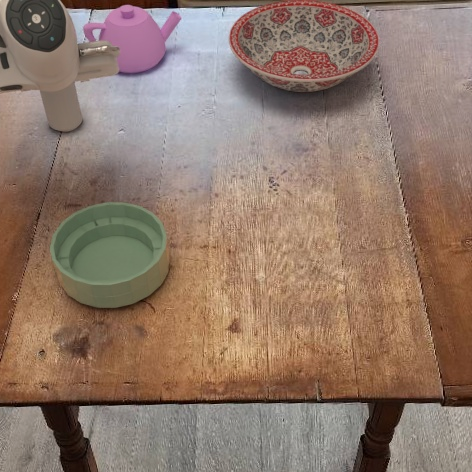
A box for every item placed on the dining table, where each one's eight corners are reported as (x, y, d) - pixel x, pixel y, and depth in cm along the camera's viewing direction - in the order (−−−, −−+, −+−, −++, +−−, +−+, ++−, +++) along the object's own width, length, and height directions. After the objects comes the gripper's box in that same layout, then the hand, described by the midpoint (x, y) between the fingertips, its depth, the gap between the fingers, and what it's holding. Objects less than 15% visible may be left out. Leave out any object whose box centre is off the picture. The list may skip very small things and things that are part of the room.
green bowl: (49, 310, 101) (40, 283, 96) (69, 229, 111) (61, 201, 106) (164, 312, 101) (161, 285, 96) (173, 230, 111) (170, 202, 106)
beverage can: (65, 138, 126) (51, 79, 116) (42, 125, 128) (25, 67, 118) (90, 121, 129) (78, 63, 119) (66, 109, 131) (52, 51, 121)
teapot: (192, 66, 140) (189, 15, 131) (96, 83, 136) (86, 32, 128) (174, 32, 148) (170, -18, 139) (84, 48, 144) (74, -2, 136)
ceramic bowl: (368, 125, 128) (375, 87, 121) (216, 109, 131) (215, 71, 124) (376, 43, 145) (383, 5, 138) (242, 30, 148) (242, -6, 142)
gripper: (115, 22, 97) (114, 51, 110) (-32, 44, 94) (-14, 71, 107) (125, 68, 98) (122, 91, 111) (-20, 91, 95) (-4, 111, 108)
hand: (54, 81), depth 109 cm, fingers open, 8 cm apart
